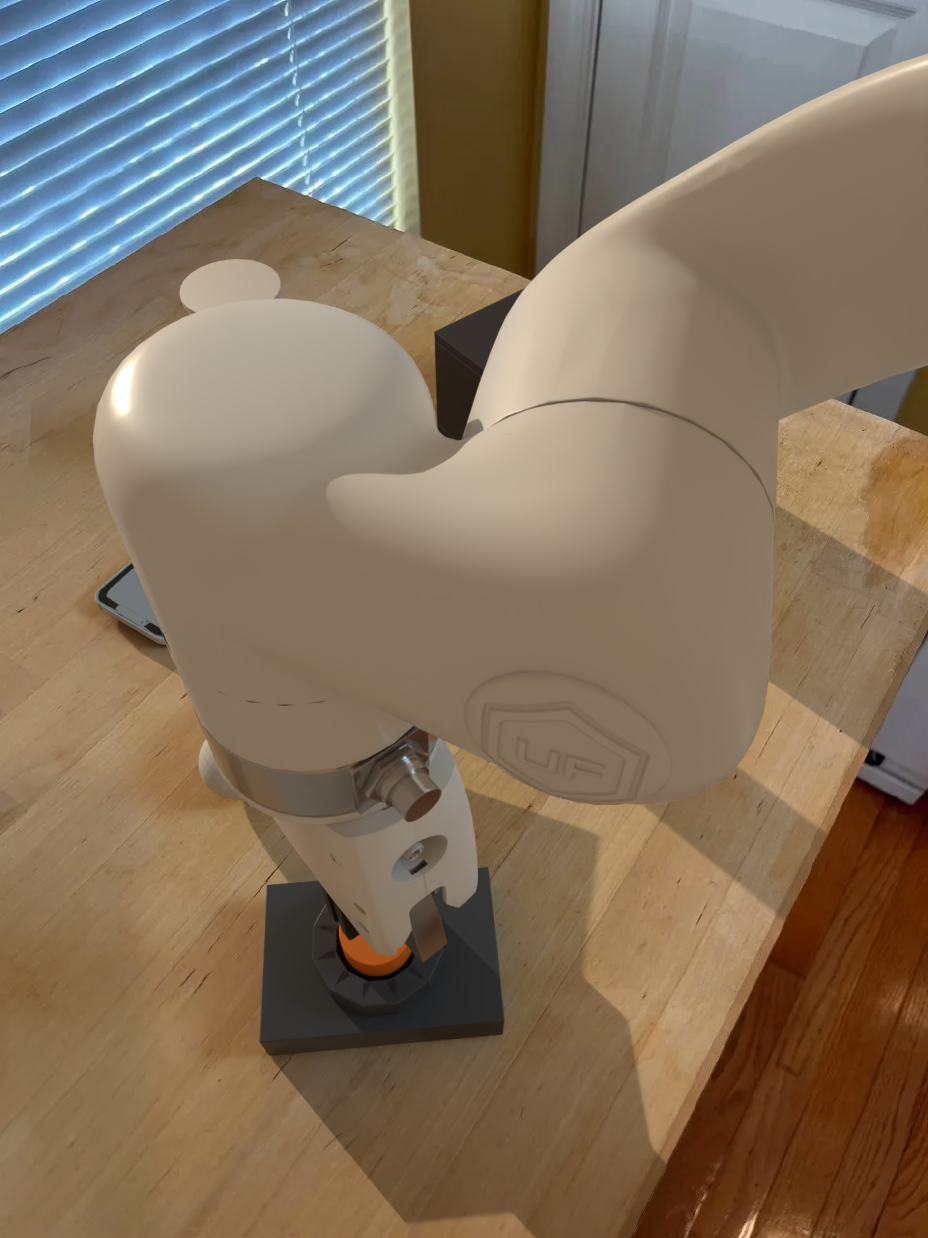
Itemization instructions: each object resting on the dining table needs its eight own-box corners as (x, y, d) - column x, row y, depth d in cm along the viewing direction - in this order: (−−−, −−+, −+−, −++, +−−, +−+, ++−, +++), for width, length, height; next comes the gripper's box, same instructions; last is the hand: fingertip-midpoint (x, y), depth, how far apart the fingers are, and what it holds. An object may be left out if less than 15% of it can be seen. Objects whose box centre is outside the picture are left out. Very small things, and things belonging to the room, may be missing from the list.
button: (412, 902, 48) (410, 889, 47) (415, 973, 46) (414, 962, 45) (342, 908, 48) (338, 895, 47) (342, 980, 46) (338, 968, 45)
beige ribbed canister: (219, 433, 77) (173, 266, 65) (304, 419, 78) (274, 252, 66) (227, 491, 72) (180, 324, 61) (317, 475, 73) (288, 308, 62)
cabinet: (675, 460, 74) (699, 360, 67) (557, 534, 70) (568, 435, 62) (551, 370, 81) (560, 270, 74) (437, 431, 77) (433, 331, 69)
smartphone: (308, 509, 70) (166, 644, 62) (309, 518, 71) (169, 652, 63) (232, 472, 73) (87, 597, 65) (234, 481, 73) (91, 606, 65)
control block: (487, 885, 53) (489, 852, 50) (502, 1034, 48) (505, 1010, 45) (274, 903, 53) (260, 871, 49) (268, 1056, 48) (252, 1033, 44)
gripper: (575, 796, 27) (534, 984, 42) (295, 504, 34) (343, 753, 49) (362, 960, 24) (398, 1101, 39) (104, 605, 31) (216, 838, 46)
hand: (367, 907), depth 44 cm, fingers closed
